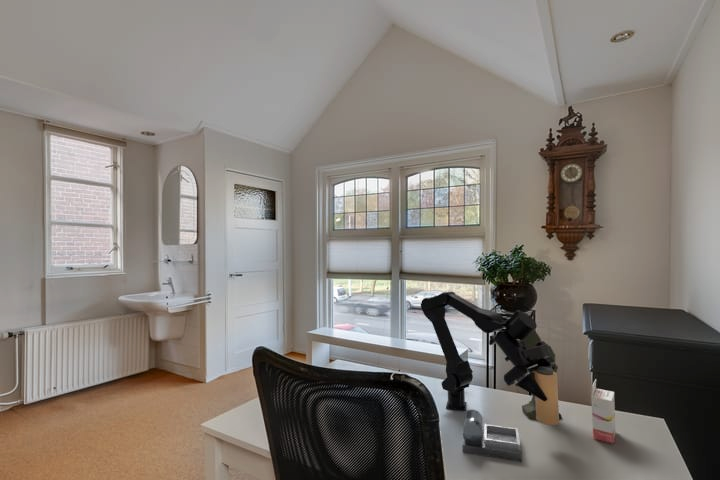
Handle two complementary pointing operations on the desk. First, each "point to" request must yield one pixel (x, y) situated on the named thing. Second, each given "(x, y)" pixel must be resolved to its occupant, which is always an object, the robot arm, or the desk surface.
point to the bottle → (547, 409)
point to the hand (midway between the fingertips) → (551, 397)
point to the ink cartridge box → (603, 414)
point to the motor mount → (490, 439)
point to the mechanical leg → (531, 343)
